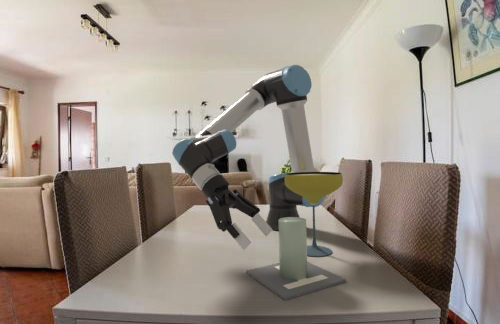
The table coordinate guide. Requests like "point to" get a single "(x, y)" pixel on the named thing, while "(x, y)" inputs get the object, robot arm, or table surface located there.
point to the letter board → (294, 288)
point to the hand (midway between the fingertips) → (259, 239)
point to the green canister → (293, 248)
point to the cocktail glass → (314, 196)
